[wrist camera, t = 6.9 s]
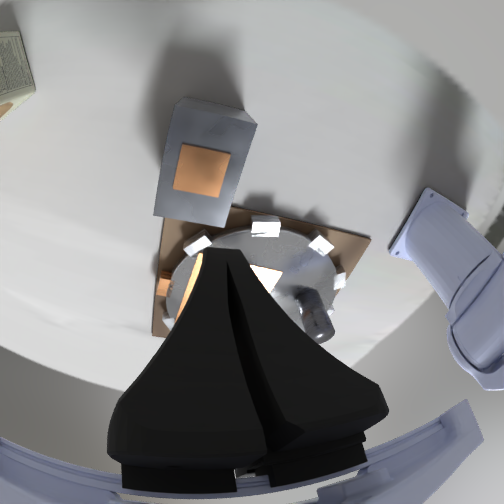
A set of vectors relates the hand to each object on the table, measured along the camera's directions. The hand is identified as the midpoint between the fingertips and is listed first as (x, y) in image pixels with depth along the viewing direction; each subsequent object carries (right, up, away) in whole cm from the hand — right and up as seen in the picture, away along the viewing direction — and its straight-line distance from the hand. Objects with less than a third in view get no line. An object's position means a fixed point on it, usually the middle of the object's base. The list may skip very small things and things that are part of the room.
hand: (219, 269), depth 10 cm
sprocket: (+1, -3, +16) cm, 16 cm away
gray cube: (-2, +8, +7) cm, 10 cm away
